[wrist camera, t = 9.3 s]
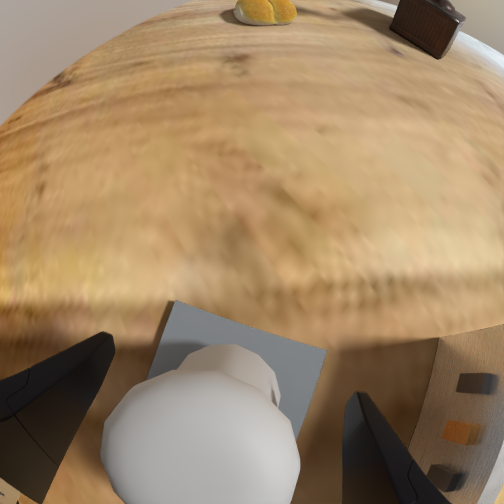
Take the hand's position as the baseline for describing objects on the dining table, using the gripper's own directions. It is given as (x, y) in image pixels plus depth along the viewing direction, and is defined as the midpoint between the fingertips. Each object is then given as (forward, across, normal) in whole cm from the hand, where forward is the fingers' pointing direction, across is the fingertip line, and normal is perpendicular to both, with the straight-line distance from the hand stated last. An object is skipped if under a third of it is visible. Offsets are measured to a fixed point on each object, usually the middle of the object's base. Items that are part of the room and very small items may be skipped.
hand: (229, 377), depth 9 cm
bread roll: (+37, +7, -24) cm, 45 cm away
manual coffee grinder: (+43, -19, -31) cm, 56 cm away
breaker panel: (+3, -15, +9) cm, 17 cm away
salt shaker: (+4, 0, +7) cm, 8 cm away
